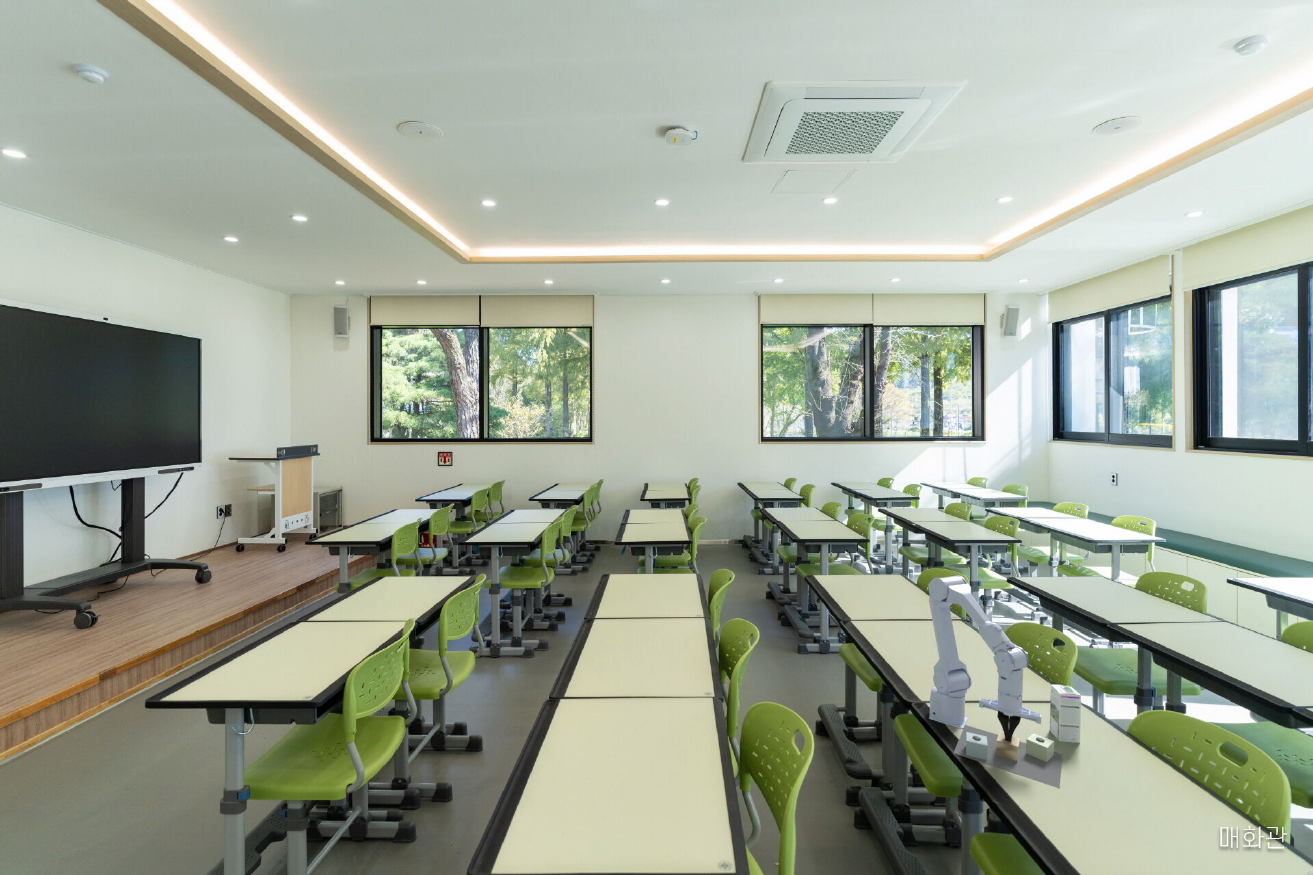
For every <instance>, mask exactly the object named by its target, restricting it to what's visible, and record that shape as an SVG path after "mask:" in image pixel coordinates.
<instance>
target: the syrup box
mask: <svg viewBox="0 0 1313 875" xmlns="http://www.w3.org/2000/svg"><path fill="white" fill-rule="evenodd" d="M1049 696H1050V698H1049V699H1050V701H1049V703H1050V704H1049V709H1050V710H1049V731H1050V732H1051V734H1052V736H1054V738H1056V740H1057V741H1059V742H1066V743H1076V744H1080V743H1081V708H1082V707H1081V706H1082V705H1081V701H1082V695H1081V694H1080V693H1079V692H1078V691H1077V690H1075V689H1074V688H1073V686H1071V685H1065V684H1050V695H1049Z"/></svg>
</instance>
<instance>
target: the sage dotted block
mask: <svg viewBox="0 0 1313 875" xmlns="http://www.w3.org/2000/svg"><path fill="white" fill-rule="evenodd" d="M1025 741H1026V742H1025V743H1026V754H1029V755H1031V756H1033V757H1036V758H1038V759H1040V760H1043V761H1045V762H1048V761H1049V760H1050V759H1051V758H1052V757H1053V756H1054V752H1055V748H1054V747H1055V741H1054V740H1052V739H1049V738H1046V737H1044V736H1041V735H1039V734H1037V733H1032V734H1031V735H1030V736H1028V738H1026V740H1025Z"/></svg>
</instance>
